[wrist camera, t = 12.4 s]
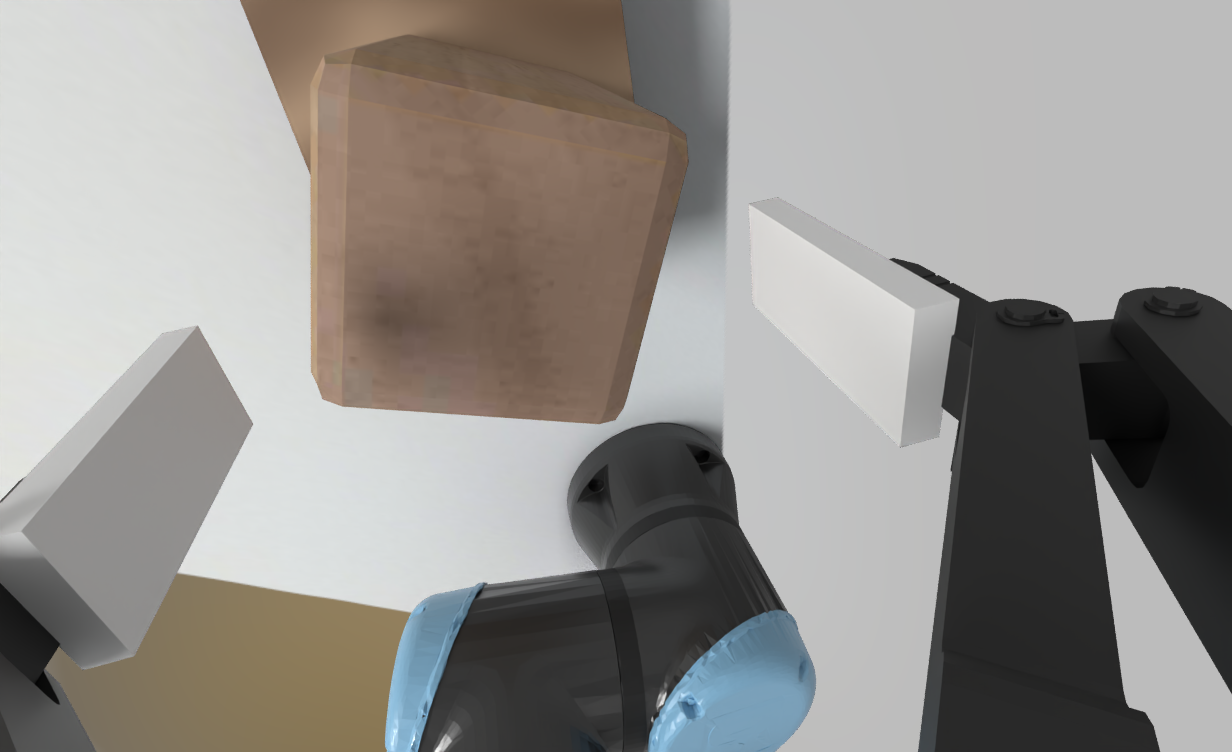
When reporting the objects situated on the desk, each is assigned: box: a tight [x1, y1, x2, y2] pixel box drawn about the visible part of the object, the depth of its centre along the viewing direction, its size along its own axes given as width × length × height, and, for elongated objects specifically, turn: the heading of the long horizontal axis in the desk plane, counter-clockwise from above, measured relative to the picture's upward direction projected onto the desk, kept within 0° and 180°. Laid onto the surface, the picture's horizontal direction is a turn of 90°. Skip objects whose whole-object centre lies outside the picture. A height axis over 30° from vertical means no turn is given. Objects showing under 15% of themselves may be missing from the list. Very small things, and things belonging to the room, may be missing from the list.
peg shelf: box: [240, 0, 634, 175], centre depth 37 cm, size 18×18×6 cm
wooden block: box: [310, 34, 689, 424], centre depth 26 cm, size 10×10×20 cm
